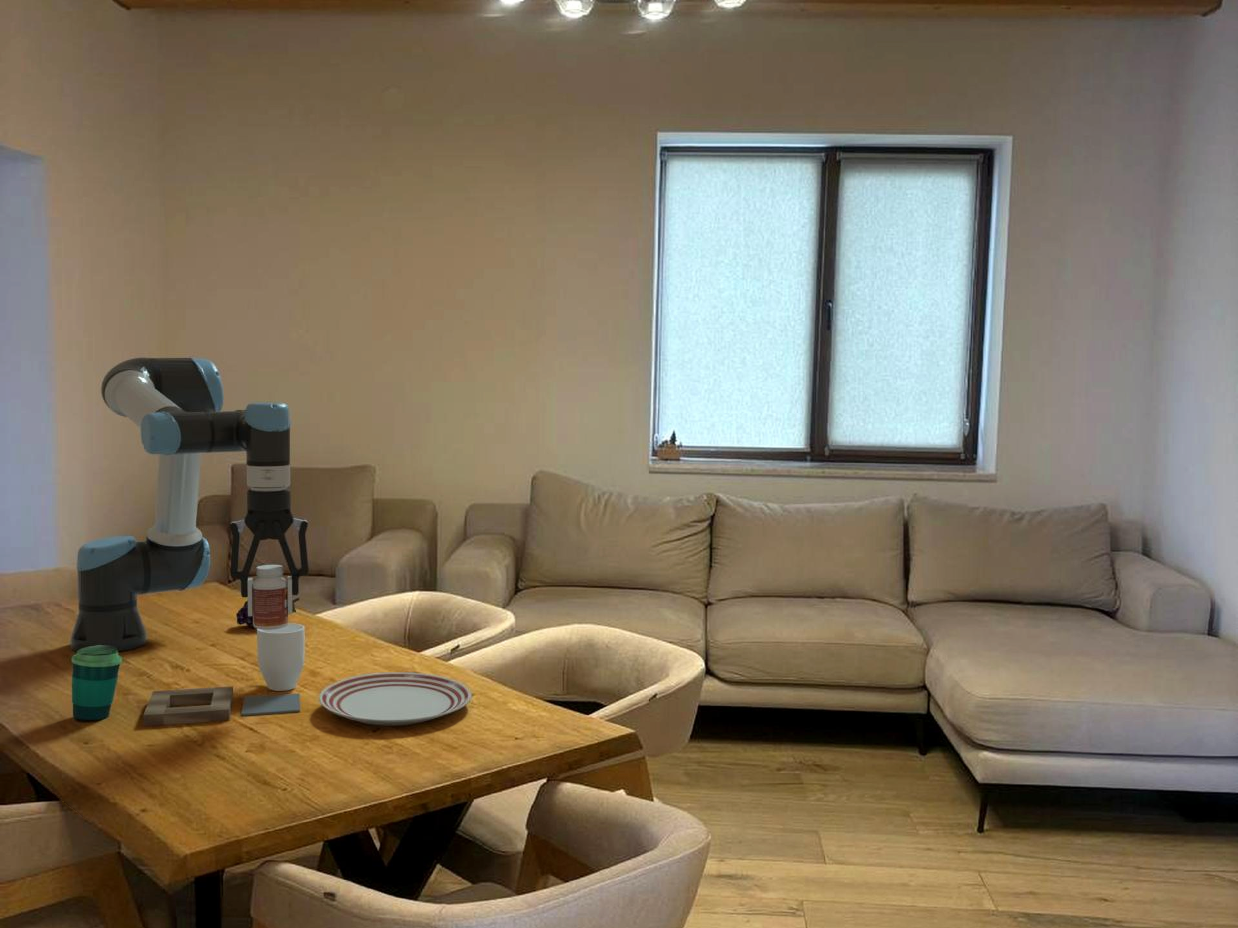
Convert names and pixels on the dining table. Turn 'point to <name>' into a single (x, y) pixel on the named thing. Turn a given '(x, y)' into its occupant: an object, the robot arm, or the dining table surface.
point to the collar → (164, 715)
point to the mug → (281, 655)
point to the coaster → (271, 704)
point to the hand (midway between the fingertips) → (270, 613)
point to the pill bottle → (270, 598)
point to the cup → (94, 682)
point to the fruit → (244, 618)
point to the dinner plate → (394, 698)
